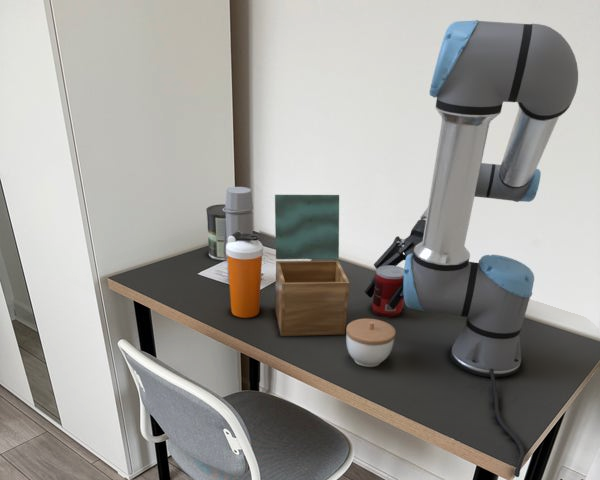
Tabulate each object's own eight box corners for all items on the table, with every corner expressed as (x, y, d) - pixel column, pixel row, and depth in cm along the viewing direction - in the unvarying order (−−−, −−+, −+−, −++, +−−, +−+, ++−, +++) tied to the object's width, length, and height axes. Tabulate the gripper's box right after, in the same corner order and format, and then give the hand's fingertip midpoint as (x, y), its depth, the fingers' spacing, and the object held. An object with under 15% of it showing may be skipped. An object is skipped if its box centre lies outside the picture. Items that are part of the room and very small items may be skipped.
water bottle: (259, 279, 168) (259, 189, 154) (242, 288, 162) (240, 195, 148) (233, 271, 172) (231, 183, 158) (216, 280, 166) (212, 189, 152)
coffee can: (202, 256, 180) (199, 210, 172) (219, 246, 188) (217, 202, 180) (231, 262, 177) (230, 216, 169) (247, 252, 185) (247, 207, 177)
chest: (344, 334, 142) (349, 282, 134) (280, 336, 140) (282, 283, 132) (334, 309, 153) (338, 260, 146) (275, 310, 151) (276, 261, 144)
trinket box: (353, 344, 138) (357, 307, 132) (397, 355, 134) (403, 318, 129) (336, 364, 130) (339, 326, 124) (382, 377, 126) (387, 338, 121)
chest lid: (339, 194, 142) (338, 195, 142) (275, 194, 139) (274, 194, 140) (338, 258, 145) (338, 258, 146) (276, 259, 143) (275, 259, 144)
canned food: (407, 310, 154) (413, 271, 148) (389, 320, 149) (395, 279, 143) (383, 301, 158) (389, 262, 152) (365, 310, 153) (370, 270, 147)
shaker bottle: (257, 321, 145) (257, 243, 134) (223, 317, 147) (220, 238, 136) (266, 306, 153) (267, 231, 142) (233, 302, 154) (231, 227, 143)
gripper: (468, 247, 146) (414, 322, 146) (407, 225, 159) (358, 293, 159) (458, 229, 140) (402, 307, 140) (396, 208, 153) (345, 279, 153)
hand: (379, 300), depth 150 cm, fingers closed on canned food, 8 cm apart
